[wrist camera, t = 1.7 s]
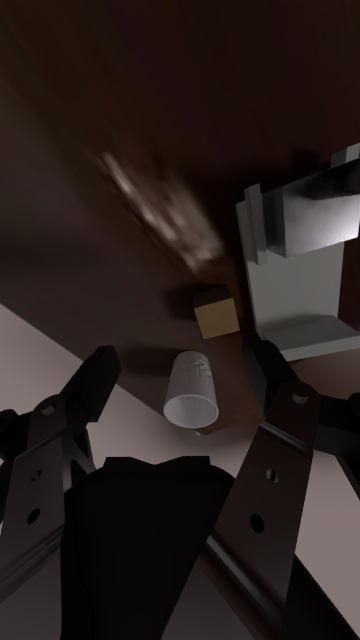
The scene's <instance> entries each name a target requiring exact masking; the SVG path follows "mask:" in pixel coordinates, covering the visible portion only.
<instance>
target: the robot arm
mask: <svg viewBox="0 0 360 640" xmlns="http://www.w3.org/2000/svg"><path fill="white" fill-rule="evenodd" d="M242 358H243V363H244V366H245V369H246V372H247V374H248V377H249V380H250V383H251V385H252V388H253V391H254V393H255V396H256V399H257V402H258V404H259V407H260V410H261V412H262V415H263V417H266V419H265V421H264V423H261V424H260V426H259V427H258V430H257V432H256V434H255V436H254V439H253V441H252V443H251V445H250V448H249V450H248V452H247V455H246V457H245V459H244V461H243V463H242V466H241V468H240V470H239V473H238V475H237V477H236V479H235V478H234V477H233V476H232V475H231V474H229V473H228V472H226V471H224V470H223V469H221V468H218V467H216V466H213V465H211V464H210V458H209V456H182V457H179V458H175V459H173V460H169V461H167V462H163V463H160V464H156V465H153V464H150V463H147V462H144V461H141V460H138V459H135V458H132V457H106V460H105V462H104V465H103V467H101V468H99V469H97V470H96V468H95V465H94V462H93V457H92V452H91V447H90V441H89V436H88V431H87V429H86V425H87V423H88V422H98V419H99V417H100V415H101V413H102V411H103V409H104V407H105V405H106V402H107V400H108V398H109V396H110V394H111V392H112V390H113V388H114V386H115V383H116V381H117V379H118V377H119V375H120V373H121V363H120V361H119V358H118V356H117V353H116V351H115V348H114V347H113V346H112V345H108V346H99V347H98V348H97V350H96V351H95V352H94V354H93V355H91V356H90V357H89V358H87V359H86V360H85V361H84V362H83V363H82V365H81V366H80V368H79V369H78V370H77V371H76V373H75V374H74V375H73V376H72V378H71V379H70V380H69V382H68V383H67V384H66V386H65V387H64V388H63V389H62V391H61V392H60V393H59V394H56V395H52V396H50V397H48V398H46V399H45V400H43V401H42V402H40V403H39V404H38V405H37V406H36V407H35V409H34V410H33V411H31V412H28V413H25V414H22V415H18V414H17V413H16V412H15V411H14V410H12V409H7V410H3V411H1V412H0V458H1V459H2V460H3V461H4V462H3V463H2V465H1V466H0V524H1V523H2V521H3V524H2V529H1V534H0V640H360V638H359V637H358V636H357V634H356V633H355V632H354V630H353V629H352V628H351V626H350V625H349V624H348V622H347V621H346V620H345V619H344V617H343V616H342V615H341V613H340V612H339V611H338V609H337V608H336V607H335V606H334V604H333V603H332V602H331V600H330V599H329V598H328V597H327V595H326V594H325V592H324V591H323V590H322V588H321V587H320V586H319V584H318V583H317V582H316V581H315V579H314V578H313V577H312V575H311V574H310V573H309V571H308V570H307V569H306V568H305V566H304V565H303V564H302V562H301V561H300V560H299V558H298V557H297V556H296V554H295V549H296V543H297V538H298V532H299V528H300V522H301V517H302V512H303V506H304V501H305V496H306V491H307V485H308V480H309V474H310V469H311V464H312V458H313V450H312V449H315V450H318V451H321V452H325V453H328V454H332V455H335V457H336V458H337V460H338V462H339V464H340V466H341V467H342V469H343V471H344V473H345V475H346V476H347V478H348V480H349V481H350V484H351V485H352V487H353V489H354V491H355V493H356V494H357V496H358V498H359V500H360V392H359V393H354V394H352V395H351V396H350V397H349V399H348V400H344V399H338V398H333V397H328V396H324V395H321V394H319V393H318V392H317V391H316V390H315V389H314V388H313V387H311V386H310V385H308V384H306V383H304V382H301V381H300V380H299V378H298V377H297V375H296V374H295V372H294V371H293V370H292V368H291V367H290V365H289V364H288V362H287V361H286V359H284V356H283V355H282V353H280V351H279V349H278V348H277V346H276V345H275V344H273V343H272V342H271V341H269V340H262V339H261V337H260V336H259V334H258V333H257V332H250V333H243V336H242Z"/></svg>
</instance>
